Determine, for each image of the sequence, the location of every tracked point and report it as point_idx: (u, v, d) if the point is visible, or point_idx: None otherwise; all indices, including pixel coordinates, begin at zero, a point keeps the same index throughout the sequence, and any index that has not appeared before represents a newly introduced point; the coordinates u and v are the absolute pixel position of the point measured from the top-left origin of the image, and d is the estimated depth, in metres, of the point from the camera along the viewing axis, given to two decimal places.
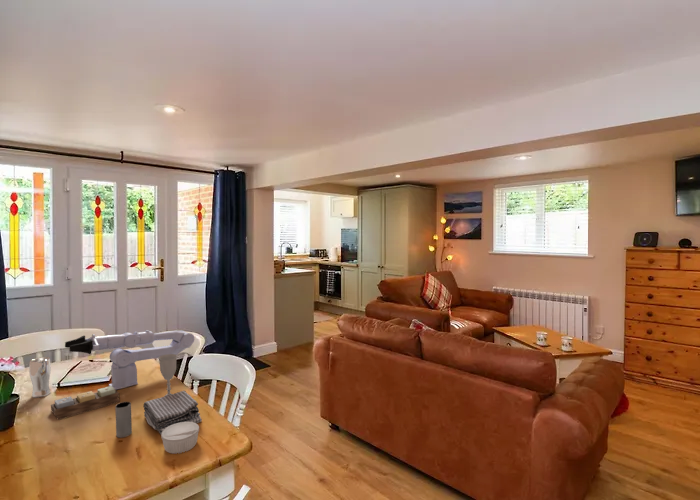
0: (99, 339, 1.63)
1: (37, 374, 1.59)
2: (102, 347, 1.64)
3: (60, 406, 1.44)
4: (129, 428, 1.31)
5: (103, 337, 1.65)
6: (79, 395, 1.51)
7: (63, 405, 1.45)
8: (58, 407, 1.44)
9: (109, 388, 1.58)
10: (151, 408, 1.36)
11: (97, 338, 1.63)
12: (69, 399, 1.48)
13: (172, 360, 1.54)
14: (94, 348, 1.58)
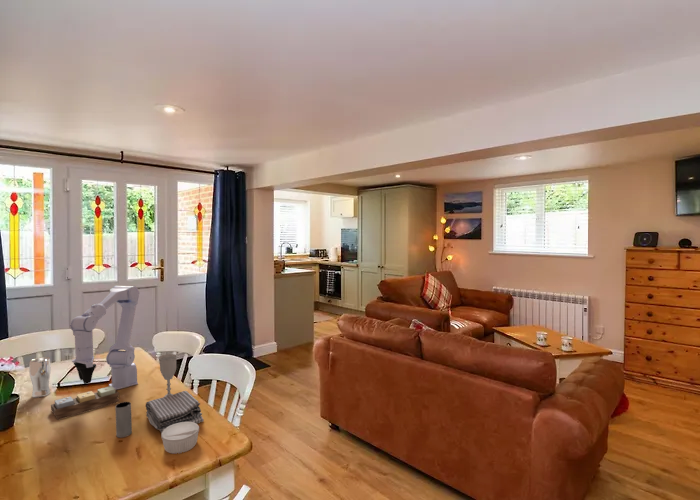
0: (79, 356, 1.48)
1: (37, 374, 1.59)
2: (90, 351, 1.50)
3: (60, 406, 1.44)
4: (129, 428, 1.31)
5: (77, 352, 1.48)
6: (79, 395, 1.51)
7: (63, 405, 1.45)
8: (58, 407, 1.44)
9: (109, 388, 1.58)
10: (153, 408, 1.36)
11: (78, 358, 1.48)
12: (69, 399, 1.48)
13: (172, 360, 1.54)
14: (90, 366, 1.46)
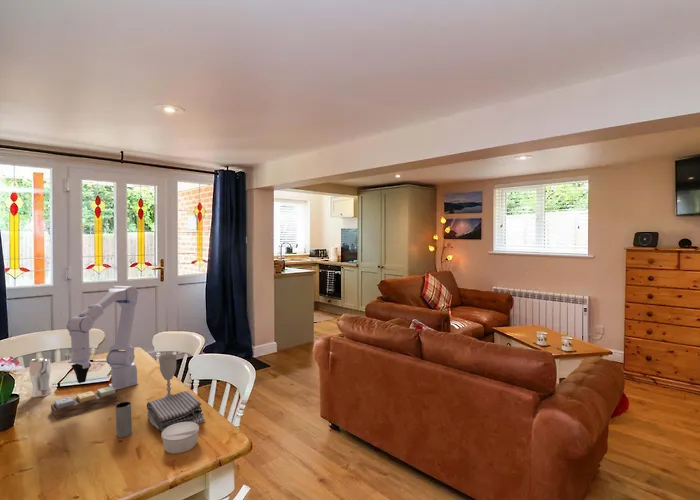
0: (75, 357, 1.47)
1: (37, 374, 1.59)
2: (86, 352, 1.49)
3: (60, 406, 1.44)
4: (129, 428, 1.31)
5: (73, 353, 1.47)
6: (79, 395, 1.51)
7: (63, 405, 1.45)
8: (58, 407, 1.44)
9: (109, 388, 1.58)
10: (154, 408, 1.36)
11: (74, 359, 1.47)
12: (69, 399, 1.48)
13: (172, 360, 1.54)
14: (87, 367, 1.46)
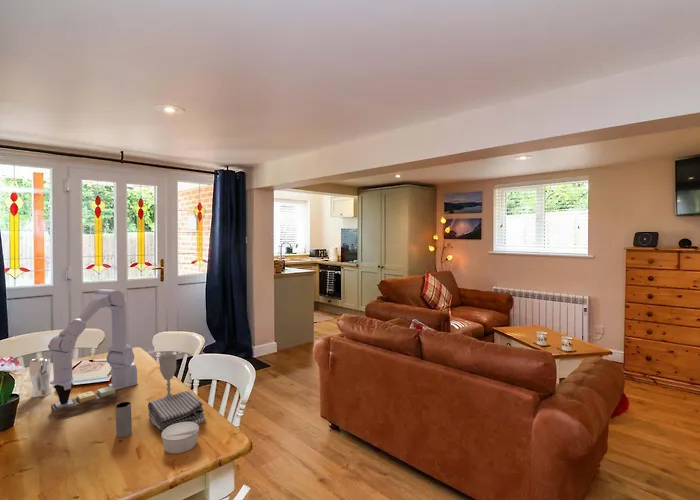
0: (57, 378, 1.43)
1: (37, 374, 1.59)
2: (69, 372, 1.46)
3: None
4: (129, 428, 1.31)
5: (55, 373, 1.43)
6: (79, 395, 1.51)
7: None
8: None
9: (109, 388, 1.58)
10: (156, 408, 1.36)
11: (56, 379, 1.43)
12: (69, 402, 1.48)
13: (172, 360, 1.54)
14: (68, 388, 1.42)
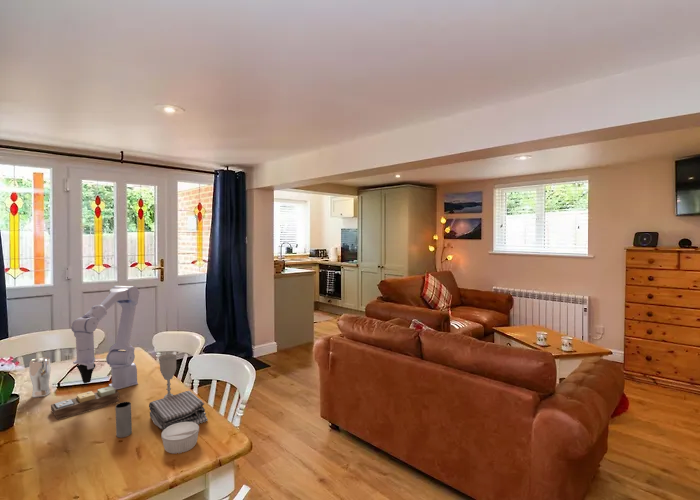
0: (80, 358, 1.49)
1: (37, 374, 1.59)
2: (91, 353, 1.51)
3: None
4: (129, 428, 1.31)
5: (78, 353, 1.49)
6: (79, 395, 1.51)
7: None
8: None
9: (109, 388, 1.58)
10: (157, 408, 1.36)
11: (79, 359, 1.49)
12: (69, 402, 1.48)
13: (172, 360, 1.54)
14: (91, 367, 1.47)
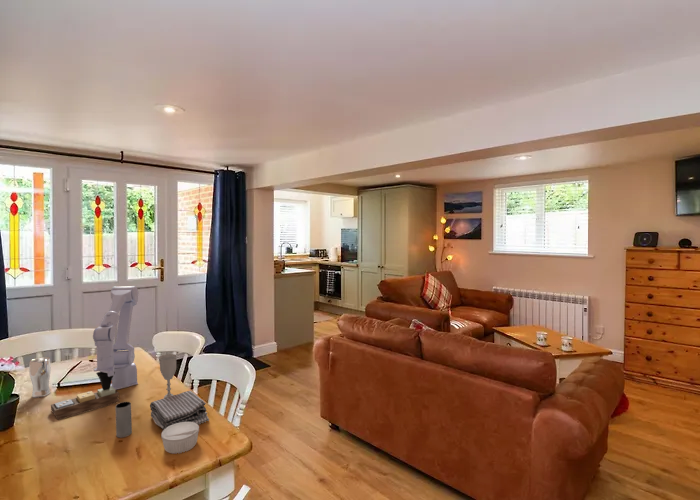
0: (101, 365, 1.54)
1: (37, 374, 1.59)
2: (111, 361, 1.56)
3: None
4: (129, 428, 1.31)
5: (98, 361, 1.54)
6: (79, 395, 1.51)
7: None
8: None
9: None
10: (158, 408, 1.36)
11: (99, 367, 1.54)
12: (69, 402, 1.48)
13: (172, 360, 1.54)
14: (112, 375, 1.52)
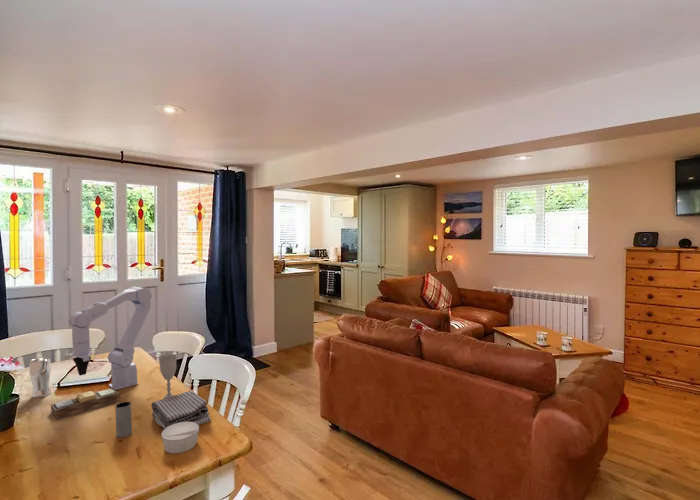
0: (76, 351, 1.55)
1: (37, 374, 1.59)
2: (87, 346, 1.57)
3: None
4: (129, 428, 1.31)
5: (74, 346, 1.55)
6: (79, 395, 1.51)
7: None
8: None
9: (109, 391, 1.58)
10: (160, 408, 1.36)
11: (75, 352, 1.55)
12: (69, 402, 1.48)
13: (172, 360, 1.54)
14: (87, 360, 1.53)
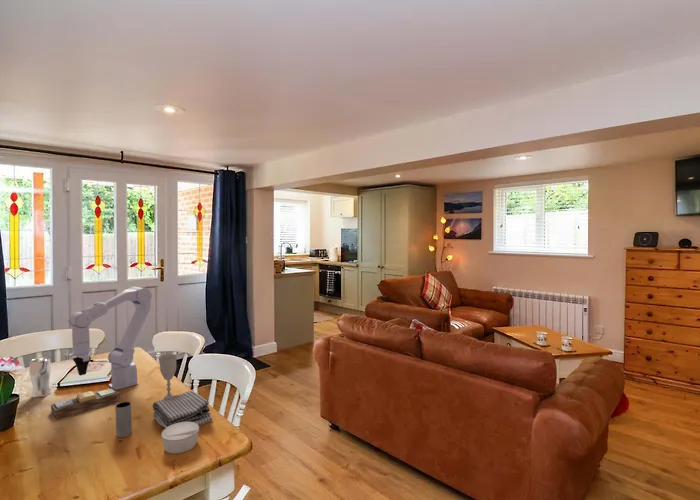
0: (76, 351, 1.55)
1: (37, 374, 1.59)
2: (87, 346, 1.57)
3: None
4: (129, 428, 1.31)
5: (74, 346, 1.55)
6: (79, 395, 1.51)
7: None
8: None
9: (109, 391, 1.58)
10: (162, 408, 1.36)
11: (75, 352, 1.55)
12: (69, 402, 1.48)
13: (172, 360, 1.54)
14: (87, 360, 1.53)
